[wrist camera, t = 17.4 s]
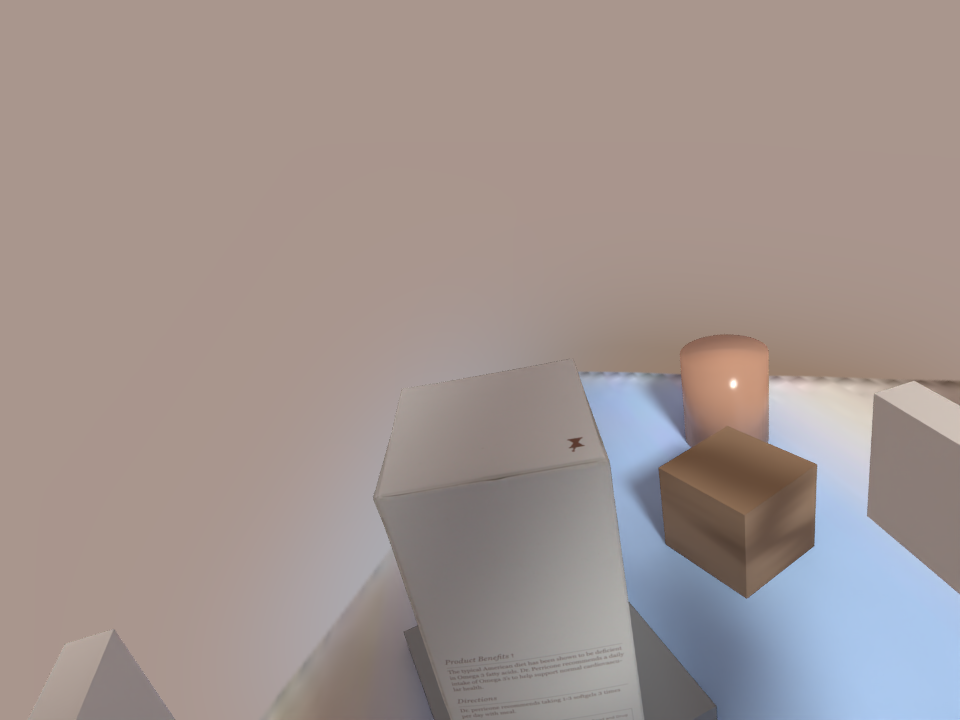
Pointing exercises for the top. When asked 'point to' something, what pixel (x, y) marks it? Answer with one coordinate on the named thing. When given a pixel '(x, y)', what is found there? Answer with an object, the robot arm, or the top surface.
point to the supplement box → (512, 546)
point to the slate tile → (663, 680)
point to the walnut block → (739, 508)
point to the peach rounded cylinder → (725, 387)
